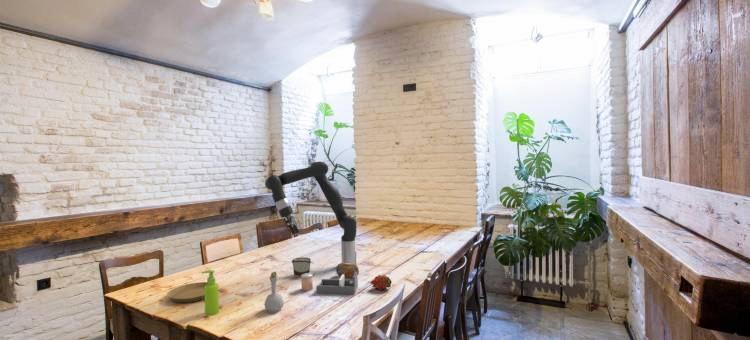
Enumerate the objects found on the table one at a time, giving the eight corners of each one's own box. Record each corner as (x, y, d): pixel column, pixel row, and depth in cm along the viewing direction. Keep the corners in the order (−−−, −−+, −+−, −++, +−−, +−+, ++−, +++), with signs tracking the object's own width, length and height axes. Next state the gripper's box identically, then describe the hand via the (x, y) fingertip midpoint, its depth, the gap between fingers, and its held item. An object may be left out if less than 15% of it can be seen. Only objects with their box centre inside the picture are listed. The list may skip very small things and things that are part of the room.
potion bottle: (287, 307, 171) (286, 270, 170) (276, 315, 162) (275, 276, 162) (271, 304, 174) (271, 268, 173) (260, 312, 165) (259, 274, 165)
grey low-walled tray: (316, 293, 188) (316, 276, 188) (322, 285, 199) (321, 270, 199) (354, 294, 186) (354, 277, 186) (357, 287, 197) (357, 271, 196)
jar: (310, 286, 198) (310, 272, 198) (314, 289, 193) (314, 275, 193) (299, 288, 195) (299, 274, 195) (303, 292, 190) (303, 277, 190)
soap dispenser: (205, 310, 168) (204, 269, 167) (220, 309, 168) (219, 268, 168) (200, 316, 162) (199, 273, 161) (216, 315, 163) (215, 272, 162)
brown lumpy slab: (335, 276, 216) (335, 262, 215) (338, 274, 218) (338, 261, 218) (357, 279, 209) (356, 265, 208) (359, 278, 211) (359, 264, 211)
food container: (313, 272, 222) (313, 257, 222) (311, 276, 216) (311, 260, 215) (295, 272, 223) (294, 256, 223) (291, 275, 217) (291, 259, 217)
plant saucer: (172, 291, 194) (171, 285, 194) (219, 285, 203) (219, 279, 203) (162, 308, 172) (162, 301, 172) (216, 300, 180) (216, 294, 180)
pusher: (339, 290, 188) (339, 279, 188) (342, 285, 196) (342, 274, 196) (341, 290, 188) (341, 279, 188) (344, 285, 196) (344, 274, 196)
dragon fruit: (393, 292, 192) (371, 295, 193) (392, 279, 199) (371, 282, 200) (391, 283, 187) (369, 286, 188) (390, 270, 194) (368, 273, 194)
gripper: (287, 204, 197) (299, 231, 195) (292, 204, 211) (304, 229, 210) (274, 210, 196) (286, 237, 195) (281, 210, 211) (292, 235, 209)
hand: (295, 233), depth 202 cm, fingers open, 8 cm apart
